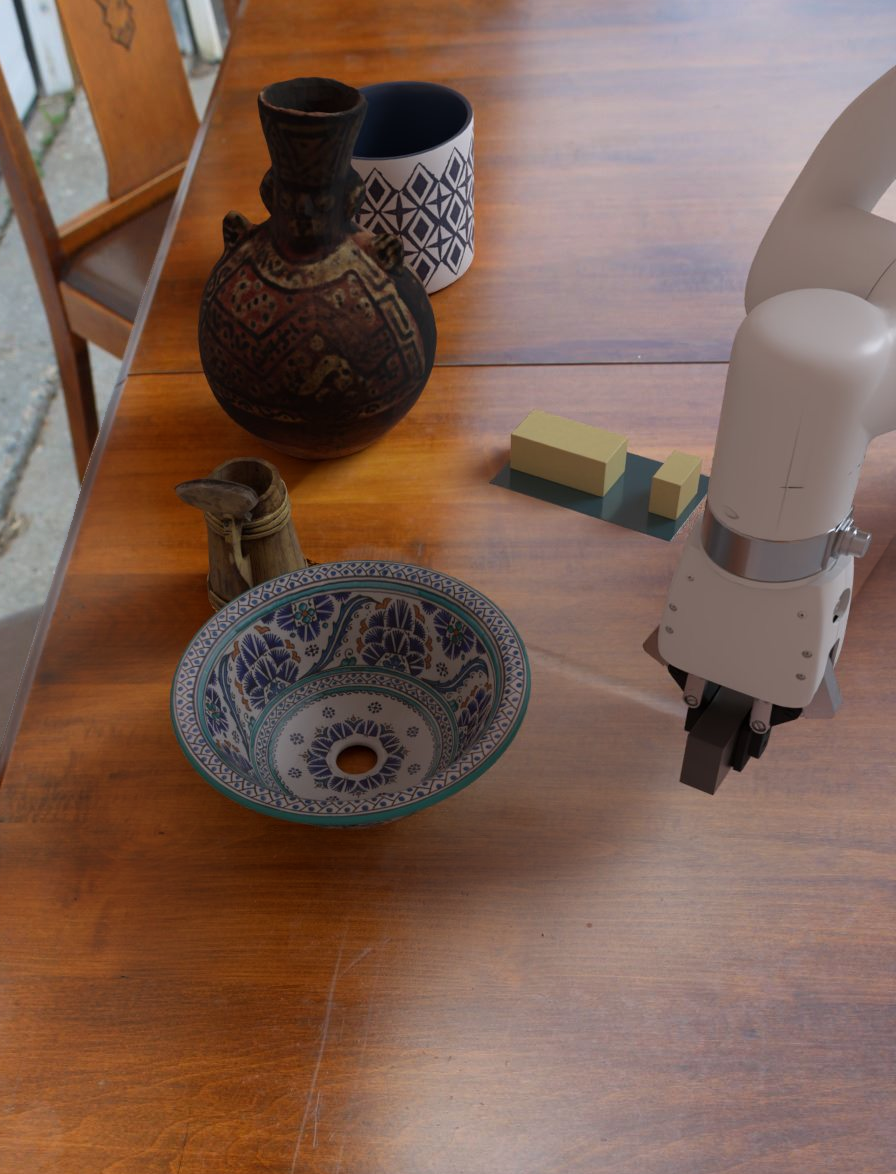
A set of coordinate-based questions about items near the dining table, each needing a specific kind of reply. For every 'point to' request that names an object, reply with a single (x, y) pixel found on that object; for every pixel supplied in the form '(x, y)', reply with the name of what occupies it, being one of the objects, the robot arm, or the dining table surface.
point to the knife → (715, 740)
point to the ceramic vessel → (314, 292)
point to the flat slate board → (609, 497)
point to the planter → (419, 175)
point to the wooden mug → (244, 526)
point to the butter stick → (568, 452)
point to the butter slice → (675, 484)
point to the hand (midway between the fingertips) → (723, 746)
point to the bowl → (350, 692)
